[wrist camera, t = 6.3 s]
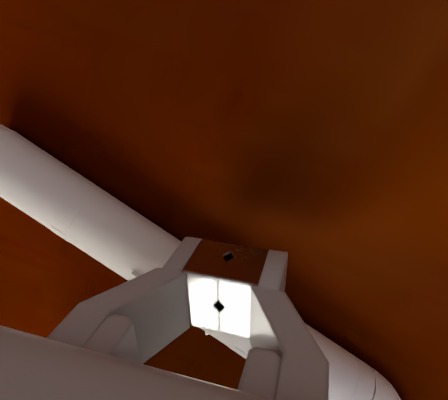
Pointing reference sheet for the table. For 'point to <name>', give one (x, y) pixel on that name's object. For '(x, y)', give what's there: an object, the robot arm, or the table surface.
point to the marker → (136, 245)
